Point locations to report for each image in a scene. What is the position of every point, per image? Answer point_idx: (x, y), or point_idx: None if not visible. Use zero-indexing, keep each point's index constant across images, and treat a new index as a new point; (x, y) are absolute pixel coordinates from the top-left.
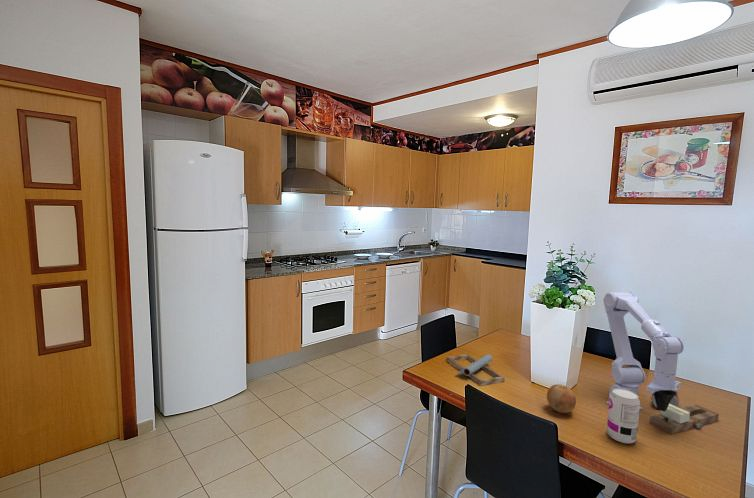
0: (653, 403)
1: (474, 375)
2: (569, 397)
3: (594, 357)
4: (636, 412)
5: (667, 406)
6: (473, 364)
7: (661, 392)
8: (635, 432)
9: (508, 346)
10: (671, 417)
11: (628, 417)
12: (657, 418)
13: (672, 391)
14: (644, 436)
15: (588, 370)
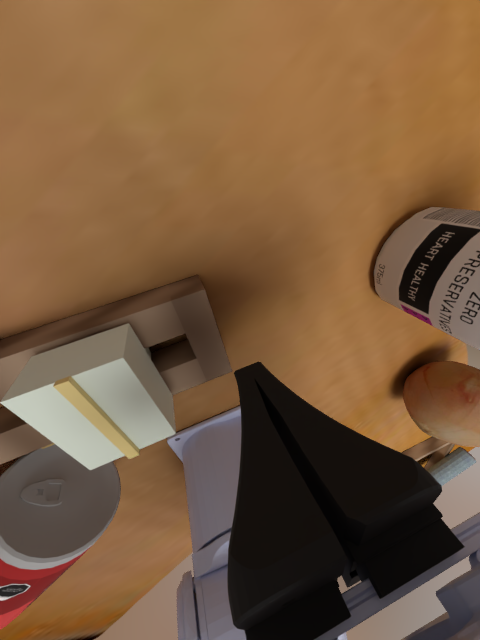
0: (116, 471)
1: (448, 451)
2: None
3: (102, 623)
4: None
5: (248, 393)
6: (453, 477)
7: (439, 513)
8: (469, 215)
9: None
10: (149, 365)
11: None
12: (212, 360)
13: (279, 604)
14: (329, 260)
15: (174, 563)
